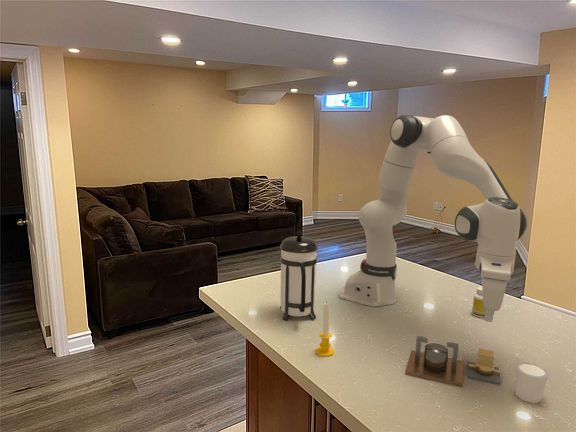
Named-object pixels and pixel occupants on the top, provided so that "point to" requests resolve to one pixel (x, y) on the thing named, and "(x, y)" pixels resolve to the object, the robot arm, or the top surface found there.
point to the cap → (485, 363)
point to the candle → (325, 335)
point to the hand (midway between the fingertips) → (487, 313)
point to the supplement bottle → (478, 304)
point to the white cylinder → (530, 382)
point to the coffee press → (298, 276)
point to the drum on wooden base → (435, 363)
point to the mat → (474, 375)
